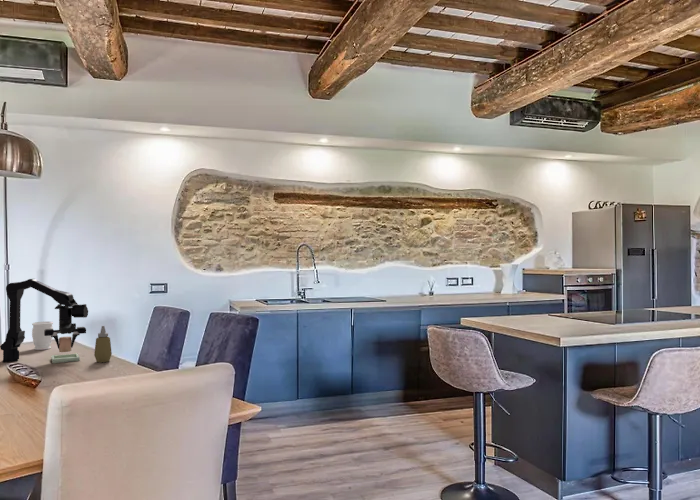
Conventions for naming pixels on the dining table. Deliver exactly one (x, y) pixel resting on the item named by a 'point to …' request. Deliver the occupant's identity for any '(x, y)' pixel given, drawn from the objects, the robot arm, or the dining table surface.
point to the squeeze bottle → (103, 347)
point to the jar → (41, 335)
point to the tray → (65, 358)
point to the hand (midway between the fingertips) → (65, 348)
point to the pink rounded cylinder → (64, 344)
